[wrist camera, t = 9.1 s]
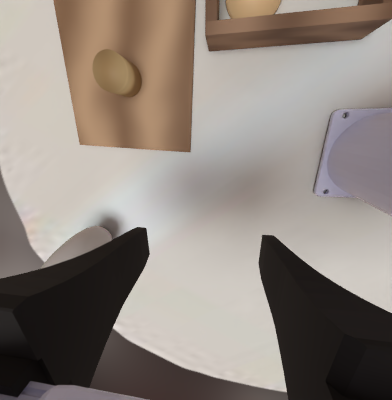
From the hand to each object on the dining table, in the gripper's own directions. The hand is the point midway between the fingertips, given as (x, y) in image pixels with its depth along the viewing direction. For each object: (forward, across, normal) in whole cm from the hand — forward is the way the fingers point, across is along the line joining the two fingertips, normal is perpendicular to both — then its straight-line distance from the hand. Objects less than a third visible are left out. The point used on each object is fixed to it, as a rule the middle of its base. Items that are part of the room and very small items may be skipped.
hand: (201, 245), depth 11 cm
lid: (+11, +8, -11) cm, 18 cm away
